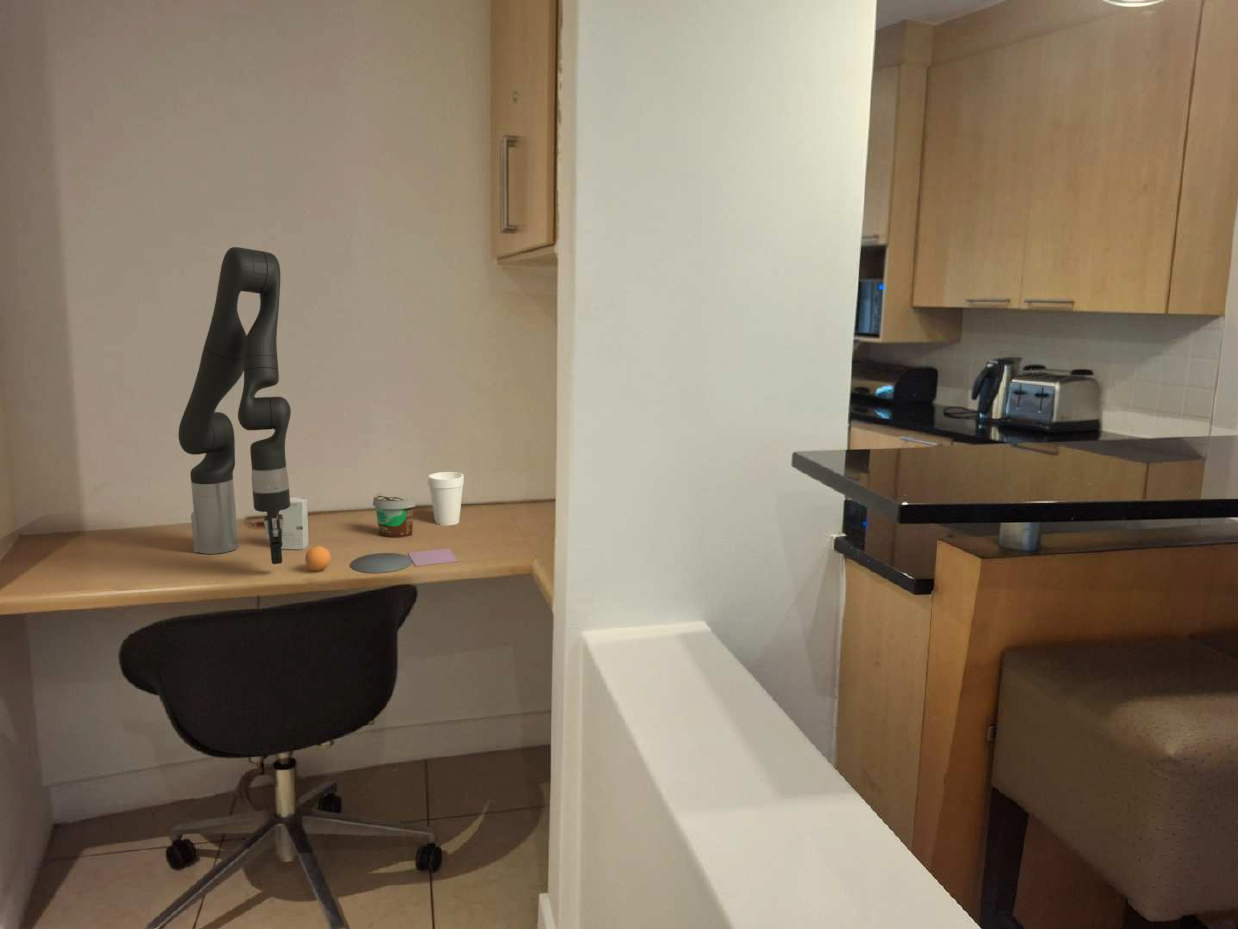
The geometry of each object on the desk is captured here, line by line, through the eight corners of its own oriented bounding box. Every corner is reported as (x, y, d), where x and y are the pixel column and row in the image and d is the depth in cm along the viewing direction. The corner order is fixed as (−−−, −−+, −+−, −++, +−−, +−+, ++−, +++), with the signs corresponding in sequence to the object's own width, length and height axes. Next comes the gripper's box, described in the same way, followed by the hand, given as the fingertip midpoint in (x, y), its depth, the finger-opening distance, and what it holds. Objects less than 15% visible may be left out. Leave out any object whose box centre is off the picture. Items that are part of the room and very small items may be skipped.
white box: (279, 549, 216) (275, 501, 214) (285, 544, 221) (281, 496, 218) (304, 549, 216) (301, 501, 214) (310, 544, 221) (307, 497, 218)
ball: (303, 574, 199) (302, 550, 198) (308, 566, 205) (307, 543, 203) (329, 573, 200) (327, 550, 199) (333, 565, 205) (332, 542, 204)
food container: (363, 534, 229) (361, 497, 227) (380, 528, 235) (378, 492, 233) (400, 542, 224) (399, 503, 222) (416, 535, 229) (415, 498, 227)
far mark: (415, 566, 206) (415, 565, 206) (408, 553, 215) (408, 552, 215) (458, 561, 210) (458, 560, 210) (449, 549, 219) (449, 548, 219)
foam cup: (431, 517, 246) (430, 471, 243) (465, 517, 247) (464, 471, 244) (428, 527, 237) (426, 480, 234) (463, 526, 238) (462, 479, 235)
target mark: (354, 576, 199) (354, 575, 199) (347, 557, 211) (347, 556, 211) (417, 569, 204) (417, 568, 204) (406, 551, 217) (406, 550, 217)
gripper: (291, 492, 190) (297, 569, 194) (286, 479, 202) (292, 552, 206) (253, 496, 187) (260, 574, 191) (251, 482, 199) (257, 556, 203)
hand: (276, 562), depth 198 cm, fingers closed
